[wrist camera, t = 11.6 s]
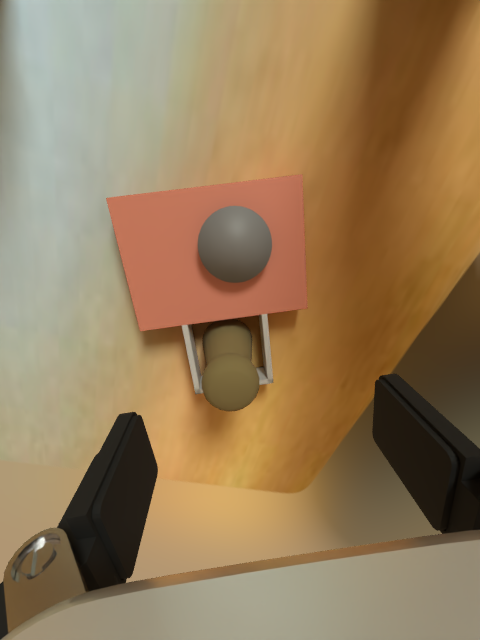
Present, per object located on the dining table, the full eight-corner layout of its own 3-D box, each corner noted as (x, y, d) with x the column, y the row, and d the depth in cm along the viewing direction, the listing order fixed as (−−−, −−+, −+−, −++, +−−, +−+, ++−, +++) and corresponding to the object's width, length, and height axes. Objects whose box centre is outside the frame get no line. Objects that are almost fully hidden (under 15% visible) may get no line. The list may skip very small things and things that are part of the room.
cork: (205, 314, 32) (199, 357, 22) (256, 321, 33) (273, 364, 23) (200, 360, 34) (191, 419, 24) (248, 365, 35) (260, 425, 25)
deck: (293, 179, 28) (306, 172, 24) (302, 365, 36) (313, 382, 32) (117, 200, 28) (100, 196, 24) (162, 385, 35) (155, 406, 31)
